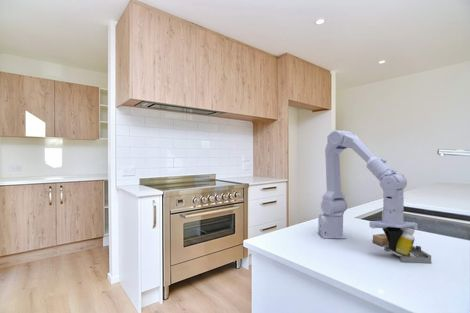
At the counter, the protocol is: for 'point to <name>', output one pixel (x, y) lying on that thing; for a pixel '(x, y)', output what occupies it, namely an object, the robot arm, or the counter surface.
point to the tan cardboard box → (380, 239)
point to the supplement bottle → (405, 242)
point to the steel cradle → (418, 258)
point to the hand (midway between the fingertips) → (392, 249)
